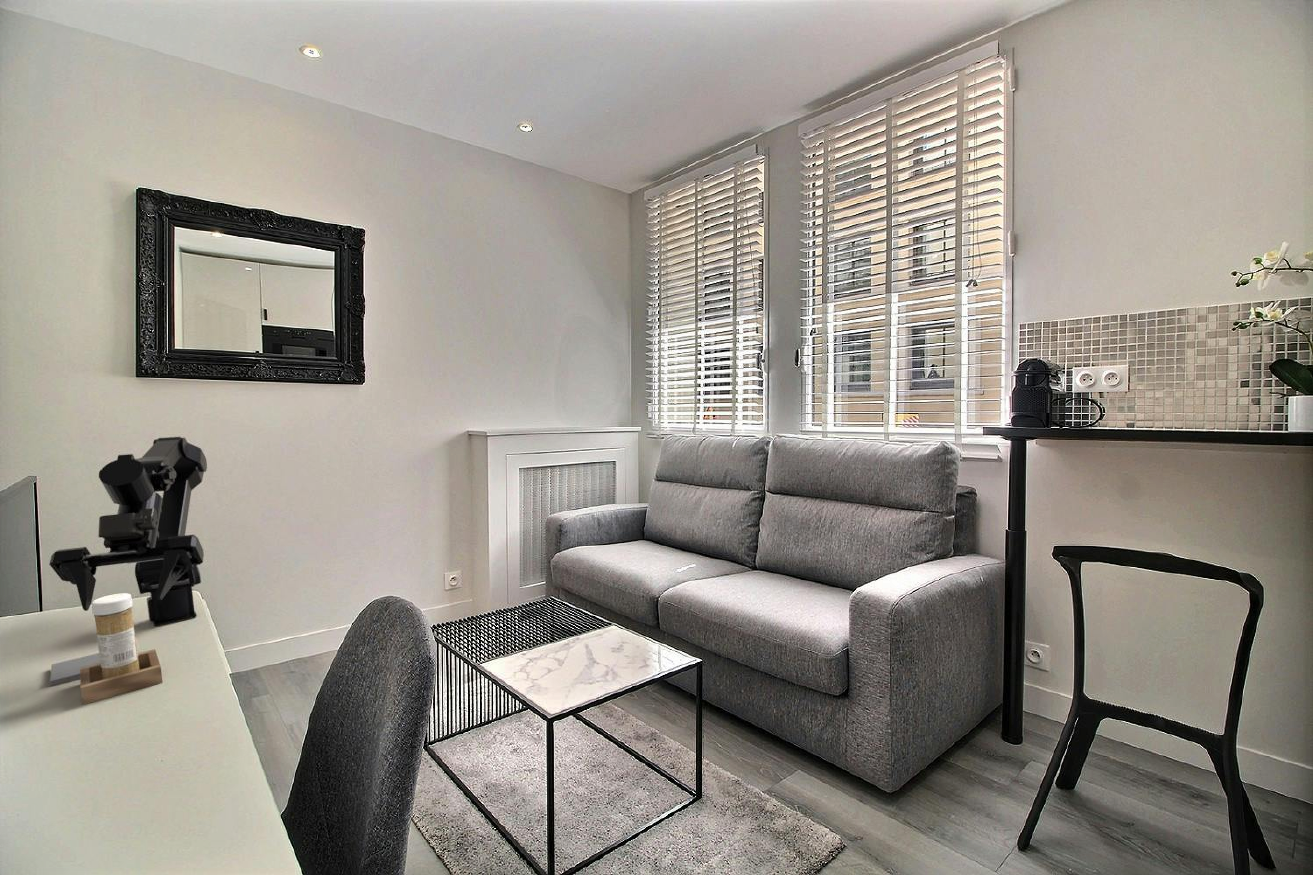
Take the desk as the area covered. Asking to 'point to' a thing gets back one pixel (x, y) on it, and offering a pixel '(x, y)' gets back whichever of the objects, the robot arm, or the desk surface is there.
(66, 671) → the pad
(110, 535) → the robot arm
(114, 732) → the desk surface
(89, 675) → the collar
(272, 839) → the desk surface
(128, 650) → the sprinkles bottle
